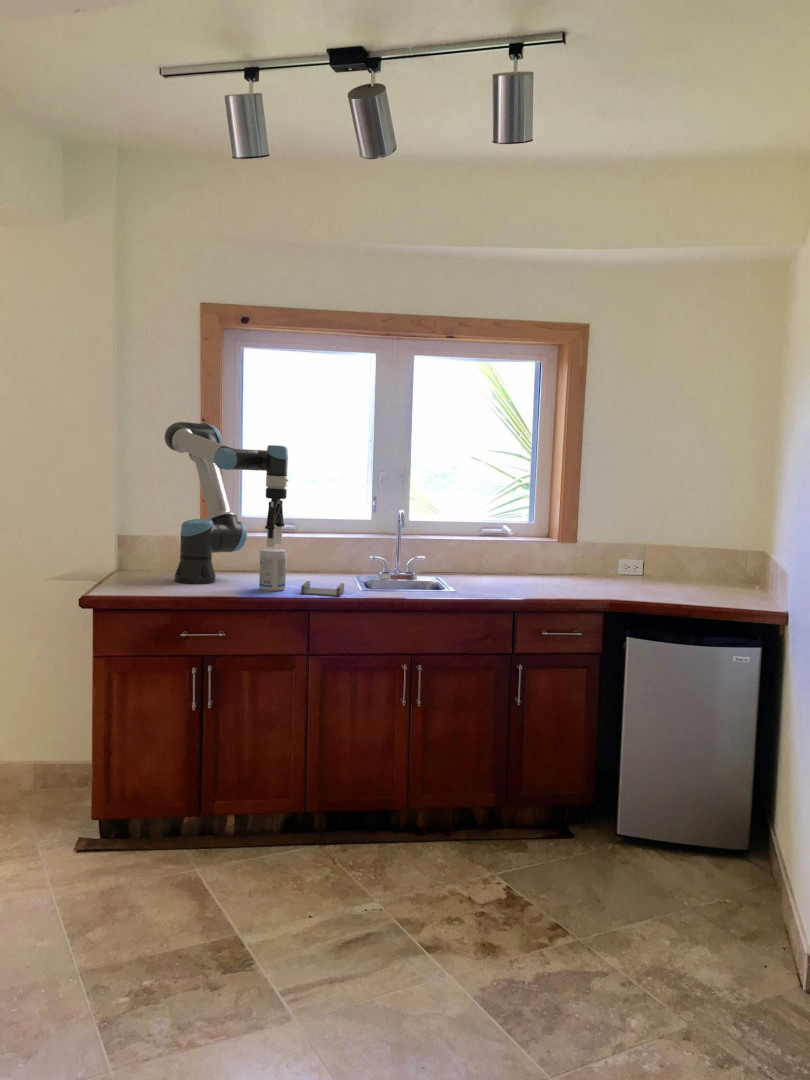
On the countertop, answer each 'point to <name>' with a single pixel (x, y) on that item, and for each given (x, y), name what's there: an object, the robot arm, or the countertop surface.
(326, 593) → the end holder
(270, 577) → the supplement tub
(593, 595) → the countertop surface
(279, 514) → the robot arm
